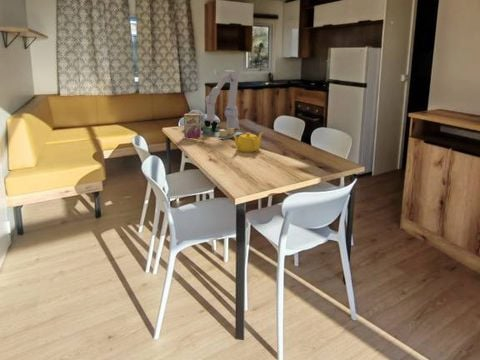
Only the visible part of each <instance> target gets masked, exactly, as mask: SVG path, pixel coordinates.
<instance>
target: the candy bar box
mask: <svg viewBox="0 0 480 360" xmlns="http://www.w3.org/2000/svg"><path fill="white" fill-rule="evenodd" d="M183 128H184V130H183V132H184V139H191V138H201V137H202V135H201V132H202V128H201V114H188V113H184V114H183Z"/></svg>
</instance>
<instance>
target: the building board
mask: <svg viewBox="0 0 480 360" xmlns="http://www.w3.org/2000/svg"><path fill="white" fill-rule="evenodd" d="M243 134H245V133H244V132H241V131H240V132H239V131H235V129H234V128H227V127H226V129H223V128H221V129H220V128H219V131H217V132H213V133H209V134H204V133H203V131H201V136H203V137H209V138H215V139H218V140H219V141H225V140H229V139H232V138H234V137H233V136H236V137H237V138H238V137H239V136H240V135H243Z"/></svg>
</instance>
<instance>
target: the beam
mask: <svg viewBox="0 0 480 360" xmlns="http://www.w3.org/2000/svg"><path fill="white" fill-rule="evenodd" d="M219 129H220V125H219V124H217V126H216V129H215V132H217V131H219ZM202 132H203V133H204V134H209V133H213V131H212V125H210V126H208V127H206V126H205V127H204V126H203V127H202Z"/></svg>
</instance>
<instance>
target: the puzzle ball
mask: <svg viewBox="0 0 480 360" xmlns="http://www.w3.org/2000/svg"><path fill="white" fill-rule="evenodd" d="M187 114H201V129H203V128H204V126H206V125H205V123H204V122H205V120H204V121H203V118H206V115H205V113H204V112H203V111H201V110H200V109H192V110H190V111H189V112H188V113H187Z"/></svg>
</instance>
